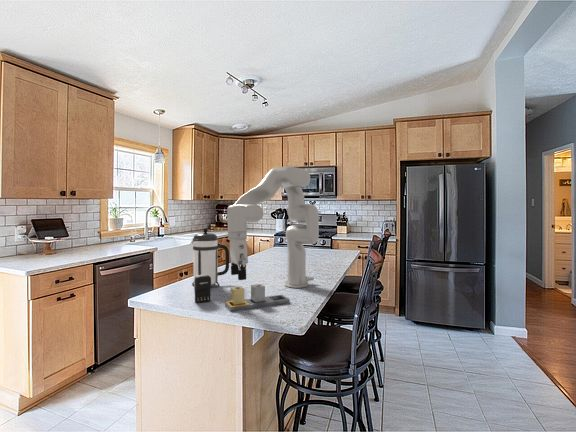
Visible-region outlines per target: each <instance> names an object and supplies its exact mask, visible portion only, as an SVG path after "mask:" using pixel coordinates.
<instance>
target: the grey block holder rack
mask: <svg viewBox="0 0 576 432" xmlns="http://www.w3.org/2000/svg"><path fill="white" fill-rule="evenodd" d="M290 301H291V299H290V298H288V297H287V296H286V295H283V294H276V295H269V296H265V302H261V303H253V302H251V298H244V304H243V305H236V306H232V305H231V300H229V301H225V302H224V307H226V308H227V310H228V311H229V312H238V311H244V310H251V309H258V308H265V307H272V306H279V305H285V304H286V305H287V304H290V303H291V302H290Z"/></svg>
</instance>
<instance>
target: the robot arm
mask: <svg viewBox="0 0 576 432" xmlns="http://www.w3.org/2000/svg"><path fill="white" fill-rule="evenodd" d="M310 182H311V175H310V172H309V171H308V170H306V169H304V168H300V167H297V166H296V167H295V166H290V165H289V166H277V167H276V166H275V167H273V168H271V169H270V170H269V171H268V172H267V173H266V175H265V176H264V178H263V179H262V180H261V181H260V182H259V183H258V185H257V186H256V187H253V188H251V189H250V190H248V191H247V192H245V193H244V194H243V195H241V196H240V197H239V198H238V199H237V201H235V203H234V204H232V205H229V206H228V207H227V240H228V241H229V261H230V275H231V276H236V275H237V278H238V279H237V280H238V281H245V280H247V265H248V263H249V258H248V257H249V256H248V244H247V239H248V234H247V229H248V228H247V227H248V226H247V222H248V223H257V222H259V221H260V220H262V218H263V217H264V210H263V208H262V206H260V205H259V204H261V203H264V202H268V201H270V200H271V199H272V198H273V197H274V196H275V195H276V194H277V192H278V191H279V189H280V188H281V187H282V188H283V189H284V190H285V192H286V195H287V212H288V214H287V215H288V220H289V221H290V222H292V223H303V224H304V223H305V224H304V225H303V224H292V225H289V226H288V227H287V228H286V230H285V239H286V246H287V273H286V274H287V278H286V279H287V281H285V282H284V286H285V287H287V288H292V289H299V288H300V289H302V288H303V289H304V288H306V287H308V286H309V285H310V284H309V281H310V282H311V281H314V280H315V278H314V276H307V275H306V272H307V271H306V270H307V269H306V265H307V261H306V260H307V259H306V258H307V254H306V252H307V251H306V249H305V246H304V245H315V244H317V242H318V240H319V235H320V233H319V231H320V230H319V228H320V227H319V225H320V223H319V221H320V220H319V219H320V217H319V210H318V207H317V206H316V205H314V204H311V203H305V193H304V191H303V190H302V188H305V187H307V186H308V185H309V184H310Z"/></svg>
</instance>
